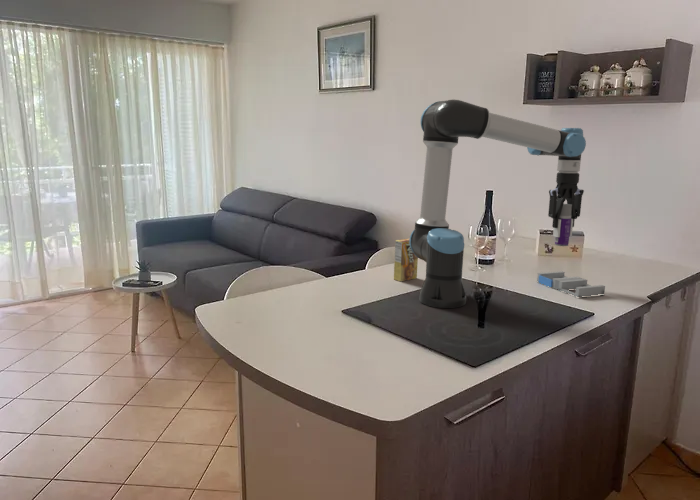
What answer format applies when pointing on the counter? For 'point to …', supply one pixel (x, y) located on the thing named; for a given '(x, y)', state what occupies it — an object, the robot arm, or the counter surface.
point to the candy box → (404, 261)
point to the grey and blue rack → (569, 284)
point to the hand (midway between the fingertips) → (562, 236)
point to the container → (564, 226)
